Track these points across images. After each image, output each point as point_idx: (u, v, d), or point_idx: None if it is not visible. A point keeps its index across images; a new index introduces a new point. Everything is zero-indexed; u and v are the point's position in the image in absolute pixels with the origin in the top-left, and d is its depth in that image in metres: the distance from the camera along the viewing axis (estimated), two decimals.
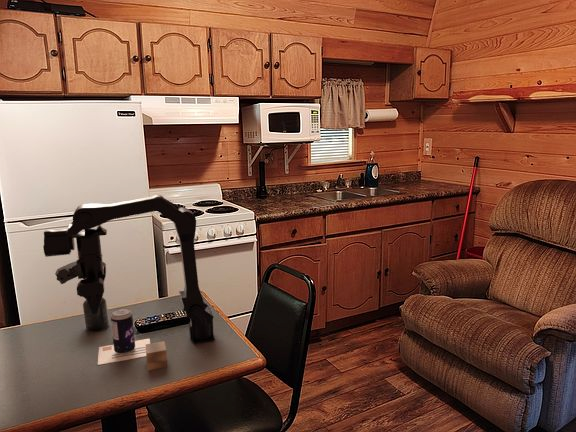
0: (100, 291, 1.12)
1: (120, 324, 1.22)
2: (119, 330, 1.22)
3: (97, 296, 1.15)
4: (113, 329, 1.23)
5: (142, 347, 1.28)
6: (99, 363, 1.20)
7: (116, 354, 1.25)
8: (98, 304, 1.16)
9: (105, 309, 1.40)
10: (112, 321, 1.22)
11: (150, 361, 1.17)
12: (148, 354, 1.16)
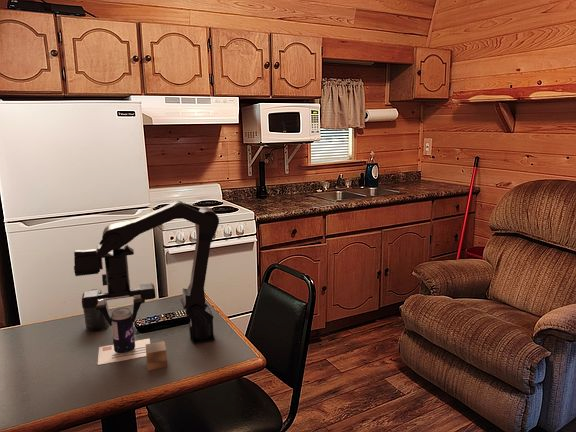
0: (82, 306, 1.18)
1: (120, 324, 1.22)
2: (119, 330, 1.22)
3: None
4: (113, 329, 1.23)
5: (142, 347, 1.28)
6: (99, 363, 1.20)
7: (116, 354, 1.25)
8: None
9: None
10: (112, 321, 1.22)
11: (150, 361, 1.17)
12: (148, 354, 1.16)
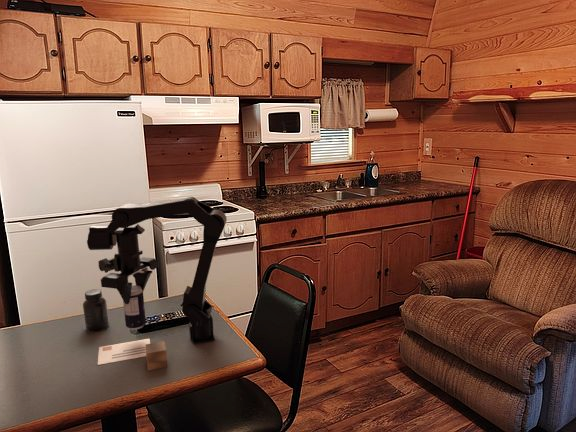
0: (116, 287, 1.19)
1: (140, 298, 1.29)
2: (139, 304, 1.29)
3: (125, 289, 1.25)
4: (132, 306, 1.28)
5: (142, 347, 1.28)
6: (99, 363, 1.20)
7: (116, 354, 1.25)
8: (127, 296, 1.26)
9: (105, 309, 1.40)
10: (131, 298, 1.27)
11: (150, 361, 1.17)
12: (148, 354, 1.16)
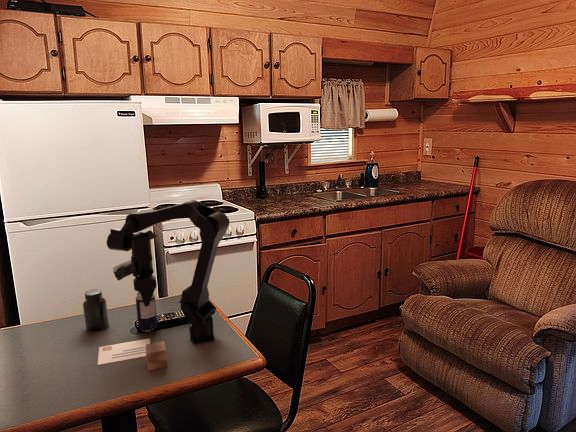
0: (153, 286, 1.28)
1: None
2: (155, 305, 1.38)
3: (149, 291, 1.31)
4: (151, 308, 1.37)
5: (142, 347, 1.28)
6: (99, 363, 1.20)
7: (116, 354, 1.25)
8: (150, 298, 1.33)
9: (105, 309, 1.40)
10: (150, 301, 1.36)
11: (150, 361, 1.17)
12: (148, 354, 1.16)
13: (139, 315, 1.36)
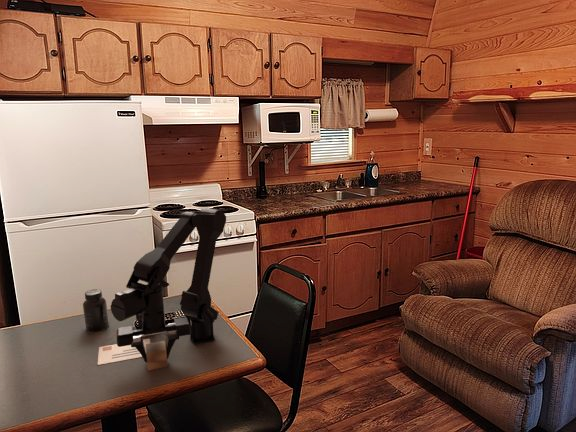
0: (117, 344, 1.13)
1: None
2: None
3: None
4: None
5: None
6: (99, 363, 1.20)
7: (116, 354, 1.25)
8: None
9: (105, 309, 1.40)
10: None
11: (150, 361, 1.17)
12: (148, 354, 1.16)
13: None
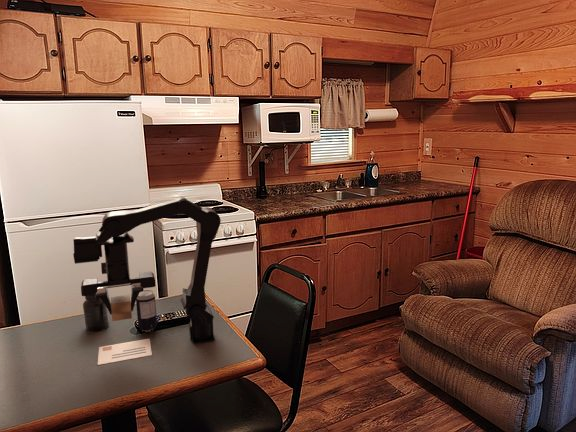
0: None
1: None
2: (155, 305, 1.38)
3: None
4: (151, 308, 1.37)
5: (142, 347, 1.28)
6: (99, 363, 1.20)
7: (116, 354, 1.25)
8: (106, 306, 1.21)
9: (105, 309, 1.40)
10: (150, 301, 1.36)
11: (114, 312, 1.20)
12: (112, 305, 1.20)
13: (139, 315, 1.36)
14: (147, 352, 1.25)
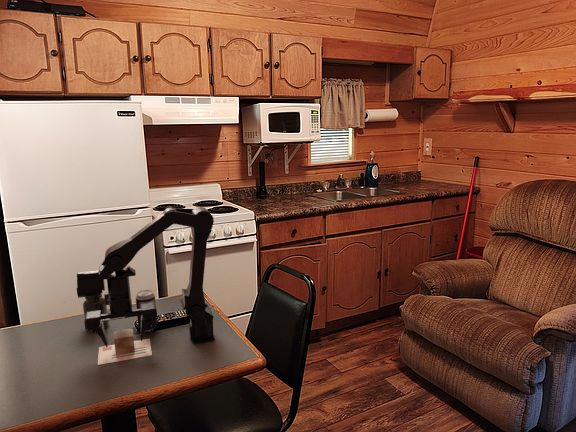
0: None
1: None
2: None
3: None
4: None
5: (142, 347, 1.28)
6: (99, 363, 1.20)
7: None
8: None
9: (105, 309, 1.40)
10: (150, 301, 1.36)
11: (117, 346, 1.24)
12: (115, 340, 1.23)
13: None
14: (147, 352, 1.25)
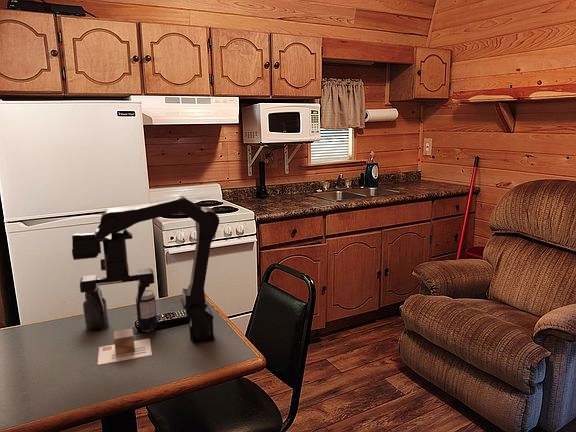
0: (80, 290, 1.17)
1: None
2: (155, 305, 1.38)
3: None
4: (151, 308, 1.37)
5: (142, 347, 1.28)
6: (99, 363, 1.20)
7: None
8: None
9: (105, 309, 1.40)
10: (150, 301, 1.36)
11: (117, 346, 1.24)
12: (115, 340, 1.23)
13: (139, 315, 1.36)
14: (147, 352, 1.25)
